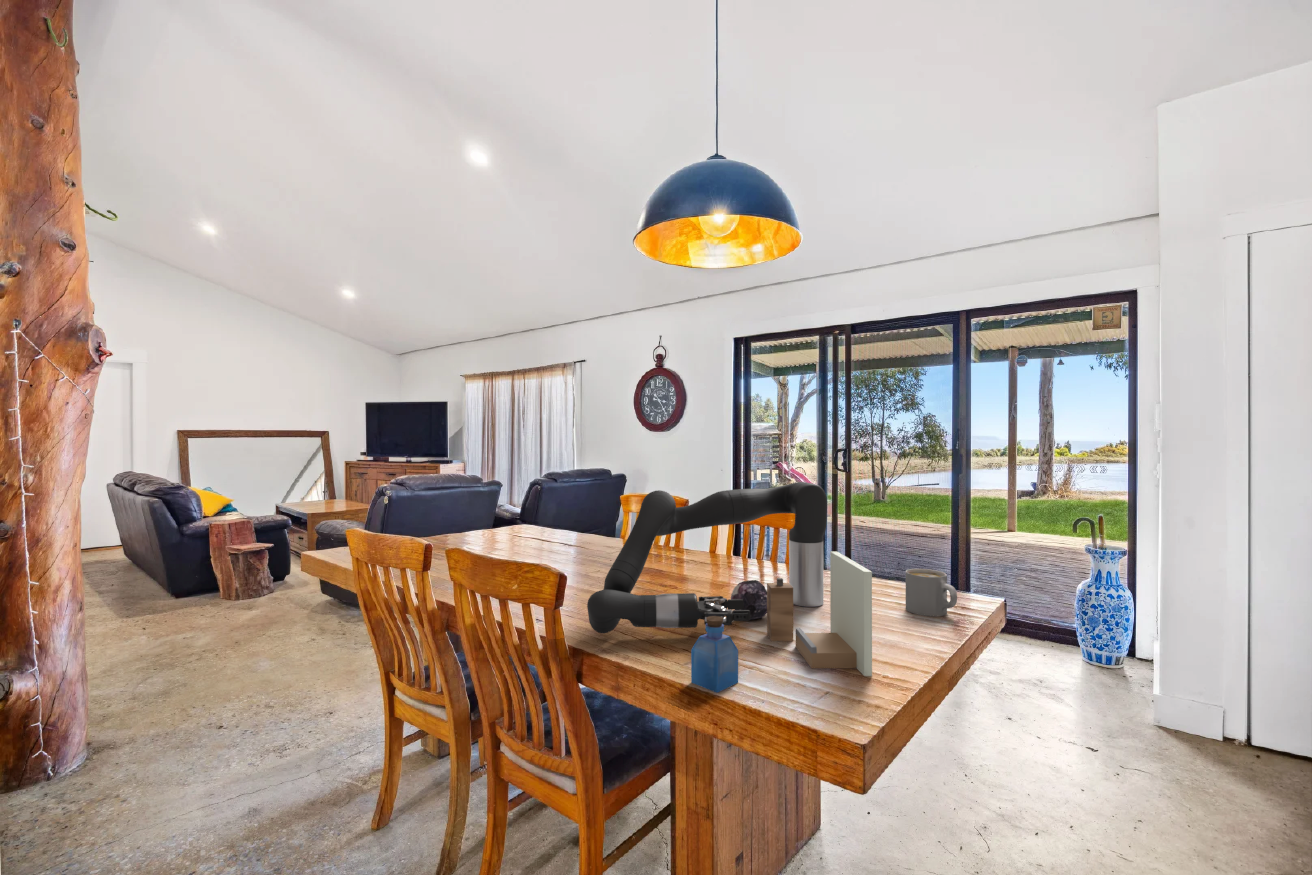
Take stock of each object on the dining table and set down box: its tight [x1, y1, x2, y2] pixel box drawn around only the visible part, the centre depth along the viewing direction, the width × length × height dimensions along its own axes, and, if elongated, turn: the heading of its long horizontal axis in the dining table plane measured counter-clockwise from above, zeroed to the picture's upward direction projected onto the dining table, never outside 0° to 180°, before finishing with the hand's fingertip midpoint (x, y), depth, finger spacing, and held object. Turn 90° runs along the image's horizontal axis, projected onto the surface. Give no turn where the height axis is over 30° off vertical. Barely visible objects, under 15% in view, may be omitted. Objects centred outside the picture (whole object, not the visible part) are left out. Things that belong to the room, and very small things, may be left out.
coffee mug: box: [905, 568, 958, 617], centre depth 153 cm, size 13×10×10 cm
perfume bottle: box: [690, 616, 739, 694], centre depth 109 cm, size 6×6×12 cm
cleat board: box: [795, 551, 873, 677], centre depth 122 cm, size 20×10×20 cm, turn 1°
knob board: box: [766, 577, 794, 642], centre depth 134 cm, size 4×5×14 cm
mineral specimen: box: [730, 579, 767, 621], centre depth 148 cm, size 10×10×10 cm
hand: (746, 609), depth 133 cm, fingers open, 8 cm apart
